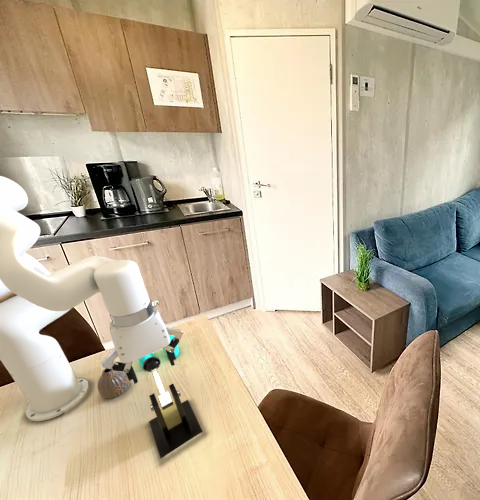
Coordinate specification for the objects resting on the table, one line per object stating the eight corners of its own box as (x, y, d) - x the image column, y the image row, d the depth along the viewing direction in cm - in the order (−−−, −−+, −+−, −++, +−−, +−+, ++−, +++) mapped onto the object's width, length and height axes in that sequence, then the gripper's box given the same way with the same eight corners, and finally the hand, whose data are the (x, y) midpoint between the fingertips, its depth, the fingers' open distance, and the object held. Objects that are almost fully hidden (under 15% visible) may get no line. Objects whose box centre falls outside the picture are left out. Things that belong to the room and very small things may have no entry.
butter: (161, 417, 72) (158, 410, 71) (178, 407, 75) (175, 400, 74) (166, 431, 69) (163, 424, 68) (184, 420, 71) (181, 413, 70)
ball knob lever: (142, 364, 71) (139, 358, 69) (158, 357, 73) (156, 351, 71) (159, 413, 66) (157, 408, 63) (177, 403, 68) (175, 398, 66)
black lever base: (150, 424, 72) (135, 390, 67) (188, 402, 77) (177, 369, 72) (162, 462, 64) (146, 426, 59) (203, 434, 69) (192, 400, 64)
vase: (117, 405, 76) (106, 382, 73) (96, 401, 78) (84, 377, 74) (139, 384, 83) (130, 362, 79) (119, 380, 84) (109, 358, 80)
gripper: (171, 292, 72) (187, 346, 79) (80, 322, 61) (108, 381, 68) (179, 305, 67) (196, 361, 74) (82, 340, 56) (113, 401, 63)
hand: (154, 370), depth 71 cm, fingers open, 7 cm apart
